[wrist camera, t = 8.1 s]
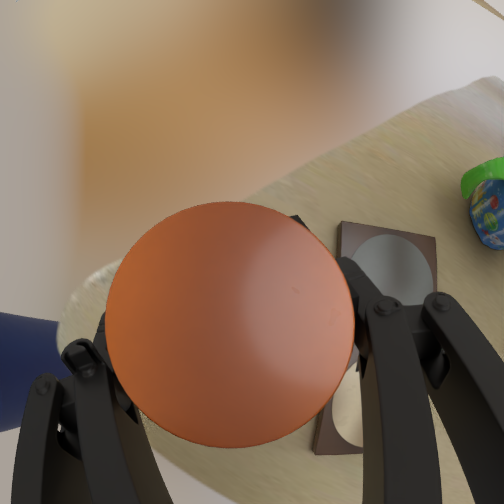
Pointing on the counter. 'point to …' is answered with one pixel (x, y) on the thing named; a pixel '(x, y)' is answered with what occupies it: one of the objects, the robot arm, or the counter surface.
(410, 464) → the robot arm
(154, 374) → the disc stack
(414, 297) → the board
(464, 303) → the counter surface
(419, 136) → the counter surface
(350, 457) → the counter surface
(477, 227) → the snack cup
